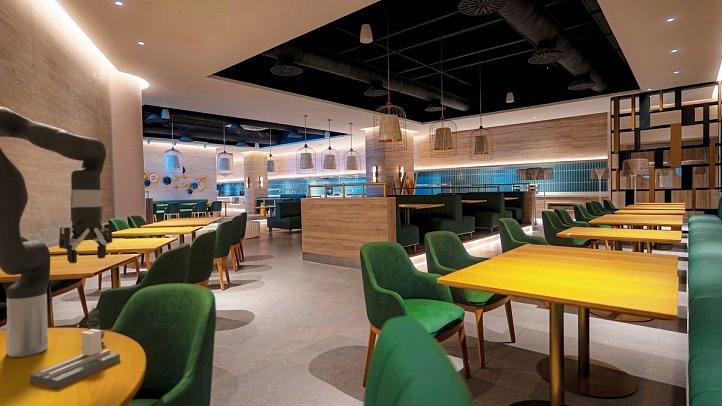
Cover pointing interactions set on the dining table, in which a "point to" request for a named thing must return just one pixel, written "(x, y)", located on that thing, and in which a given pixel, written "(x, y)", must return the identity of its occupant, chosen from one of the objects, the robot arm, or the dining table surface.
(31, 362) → the dining table surface
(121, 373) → the dining table surface
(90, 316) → the dark grey statuette
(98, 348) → the fader tab
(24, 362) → the dining table surface
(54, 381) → the grey ridged rail base
